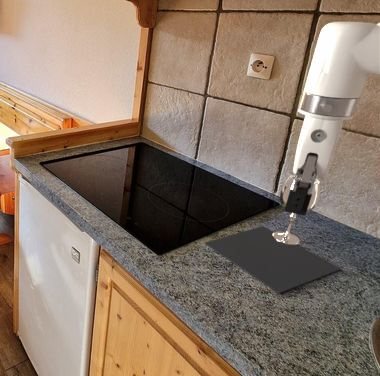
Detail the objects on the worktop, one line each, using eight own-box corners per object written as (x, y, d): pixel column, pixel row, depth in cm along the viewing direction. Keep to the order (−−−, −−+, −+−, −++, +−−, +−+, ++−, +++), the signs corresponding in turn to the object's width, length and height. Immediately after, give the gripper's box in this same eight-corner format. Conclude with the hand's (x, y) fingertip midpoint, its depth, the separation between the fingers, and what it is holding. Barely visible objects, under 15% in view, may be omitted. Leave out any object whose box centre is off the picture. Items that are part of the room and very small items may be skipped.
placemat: (340, 270, 89) (341, 268, 89) (279, 294, 81) (279, 292, 81) (262, 227, 105) (262, 225, 105) (204, 243, 97) (205, 242, 97)
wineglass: (275, 226, 79) (292, 169, 74) (308, 238, 75) (328, 179, 70) (263, 237, 75) (280, 178, 70) (297, 250, 71) (317, 188, 66)
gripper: (357, 120, 56) (318, 232, 64) (354, 99, 69) (322, 193, 77) (295, 112, 60) (266, 219, 68) (304, 93, 73) (278, 184, 81)
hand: (296, 204), depth 72 cm, fingers closed on wineglass, 5 cm apart
